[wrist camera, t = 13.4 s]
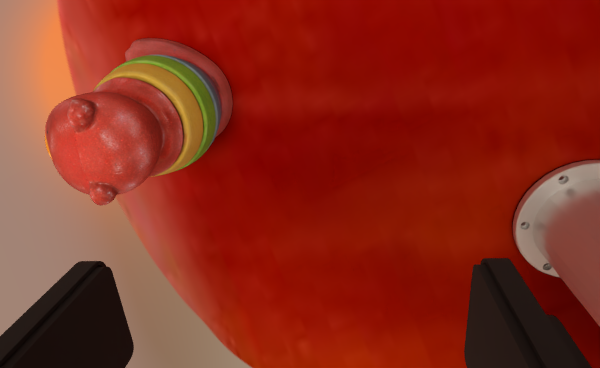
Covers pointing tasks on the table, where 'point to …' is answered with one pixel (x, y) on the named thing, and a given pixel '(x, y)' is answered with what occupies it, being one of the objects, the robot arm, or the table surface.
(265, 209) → the table surface
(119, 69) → the stacking bear
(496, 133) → the table surface
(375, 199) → the table surface
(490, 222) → the table surface
